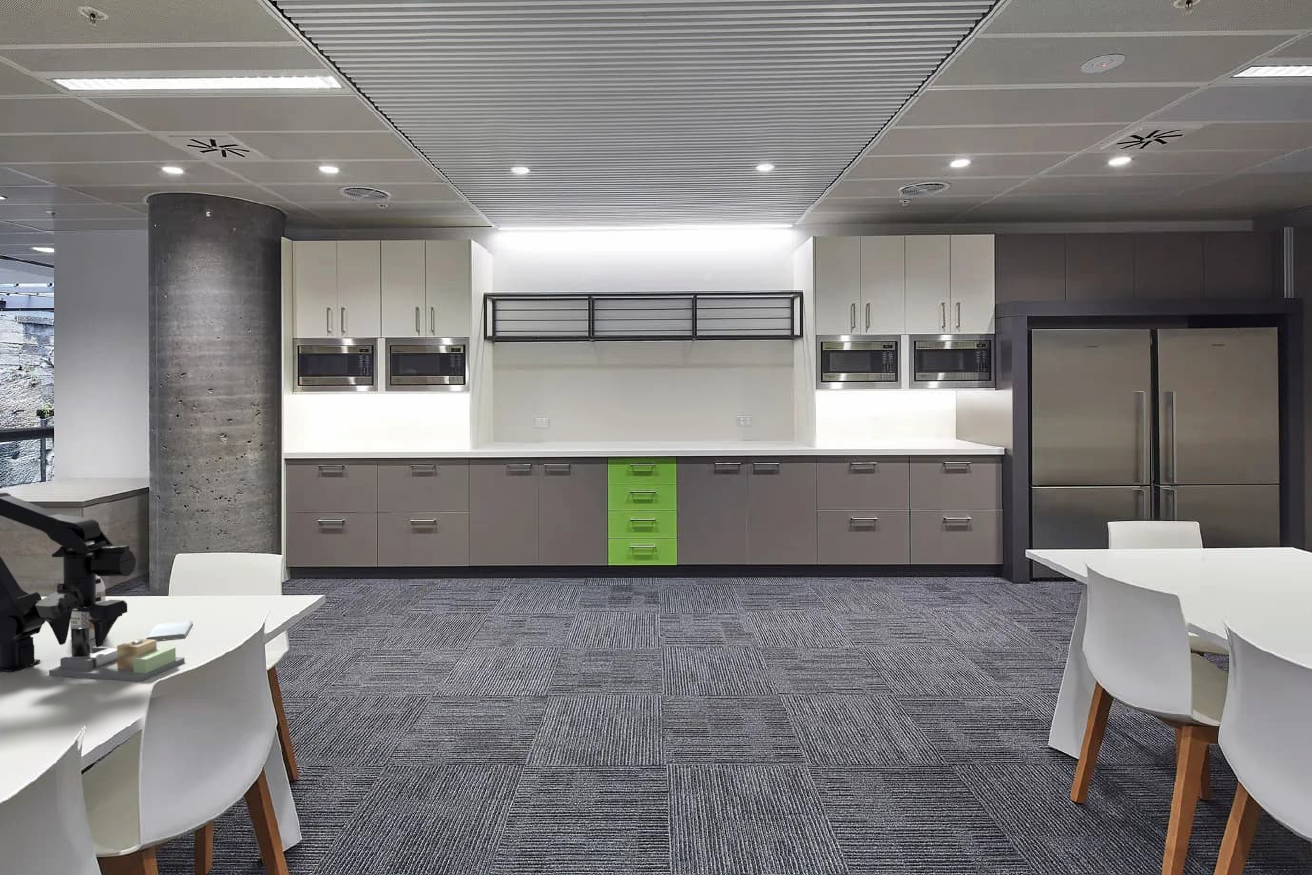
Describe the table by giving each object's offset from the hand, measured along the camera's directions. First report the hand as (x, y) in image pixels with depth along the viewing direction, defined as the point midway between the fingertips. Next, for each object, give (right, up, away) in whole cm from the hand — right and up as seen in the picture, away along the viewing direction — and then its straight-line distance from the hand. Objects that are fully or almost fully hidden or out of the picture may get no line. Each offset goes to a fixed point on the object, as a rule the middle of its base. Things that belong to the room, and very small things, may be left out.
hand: (80, 645), depth 161 cm
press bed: (+9, -5, -1) cm, 11 cm away
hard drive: (+4, -5, +25) cm, 25 cm away
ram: (+3, -3, 0) cm, 4 cm away
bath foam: (-14, -4, +20) cm, 25 cm away
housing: (+14, -4, -2) cm, 15 cm away
